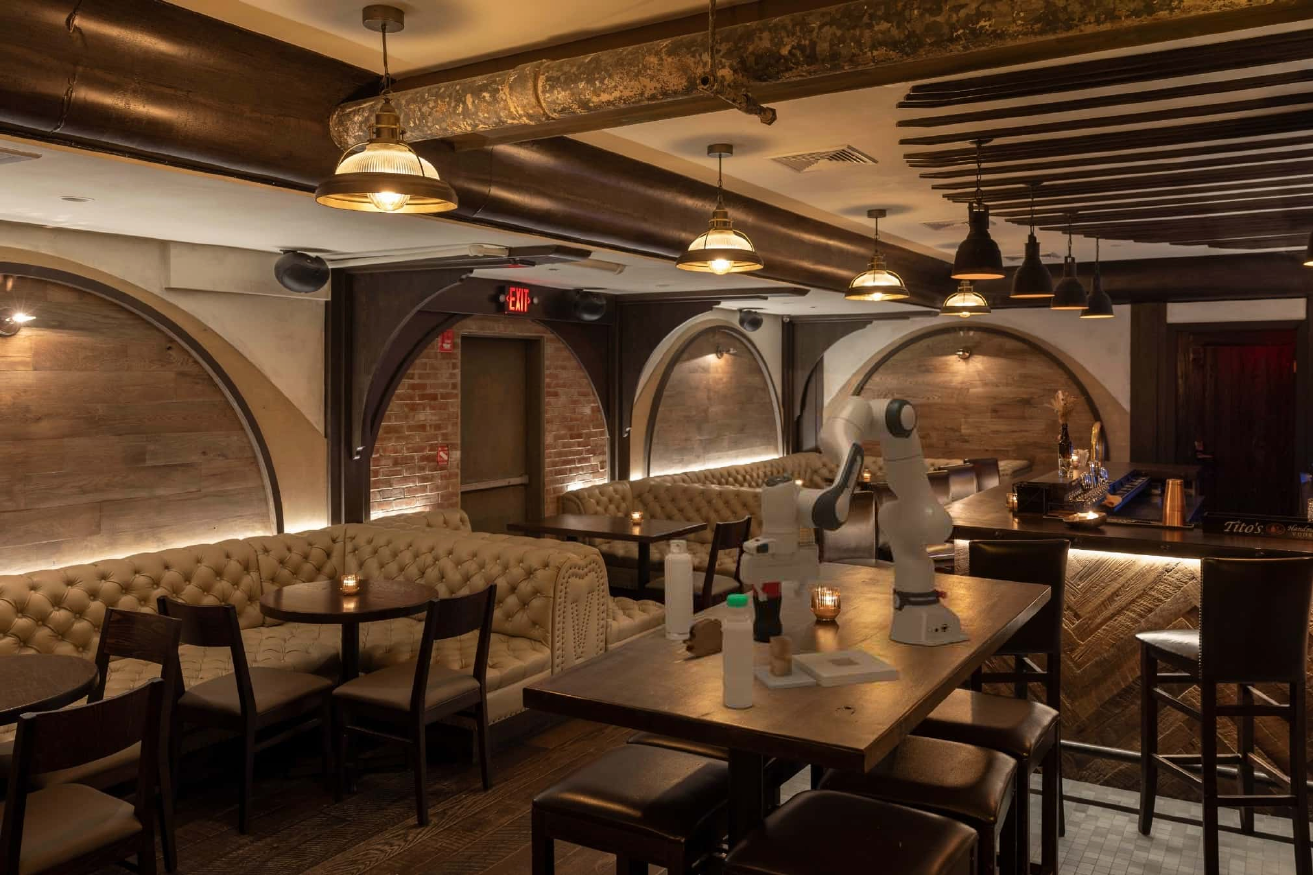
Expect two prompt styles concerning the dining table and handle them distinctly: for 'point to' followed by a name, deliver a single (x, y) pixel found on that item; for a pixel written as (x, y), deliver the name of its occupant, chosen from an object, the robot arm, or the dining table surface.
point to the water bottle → (737, 654)
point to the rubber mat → (782, 678)
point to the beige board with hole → (844, 667)
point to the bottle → (678, 591)
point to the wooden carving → (704, 637)
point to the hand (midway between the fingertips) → (780, 598)
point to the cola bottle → (767, 612)
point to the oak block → (781, 656)
